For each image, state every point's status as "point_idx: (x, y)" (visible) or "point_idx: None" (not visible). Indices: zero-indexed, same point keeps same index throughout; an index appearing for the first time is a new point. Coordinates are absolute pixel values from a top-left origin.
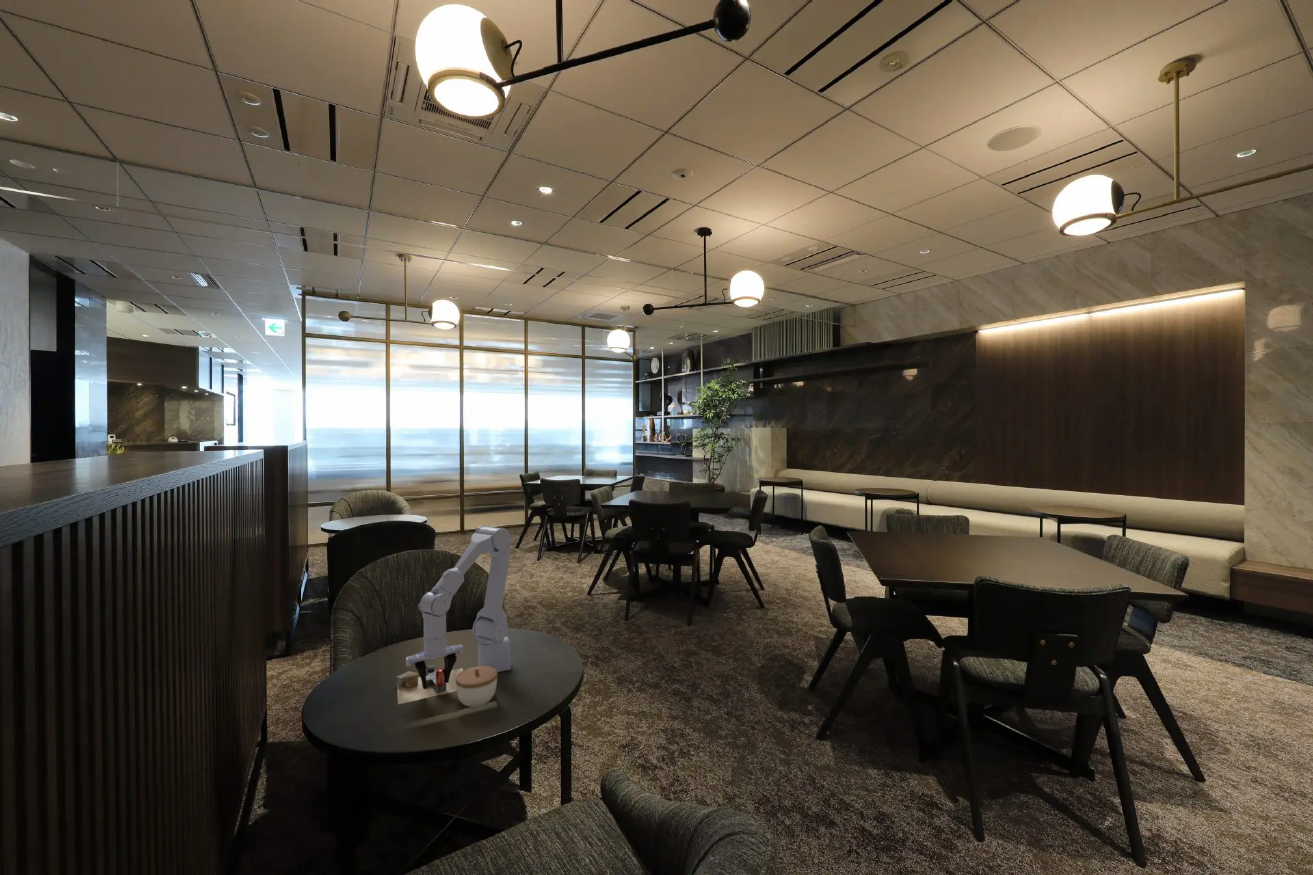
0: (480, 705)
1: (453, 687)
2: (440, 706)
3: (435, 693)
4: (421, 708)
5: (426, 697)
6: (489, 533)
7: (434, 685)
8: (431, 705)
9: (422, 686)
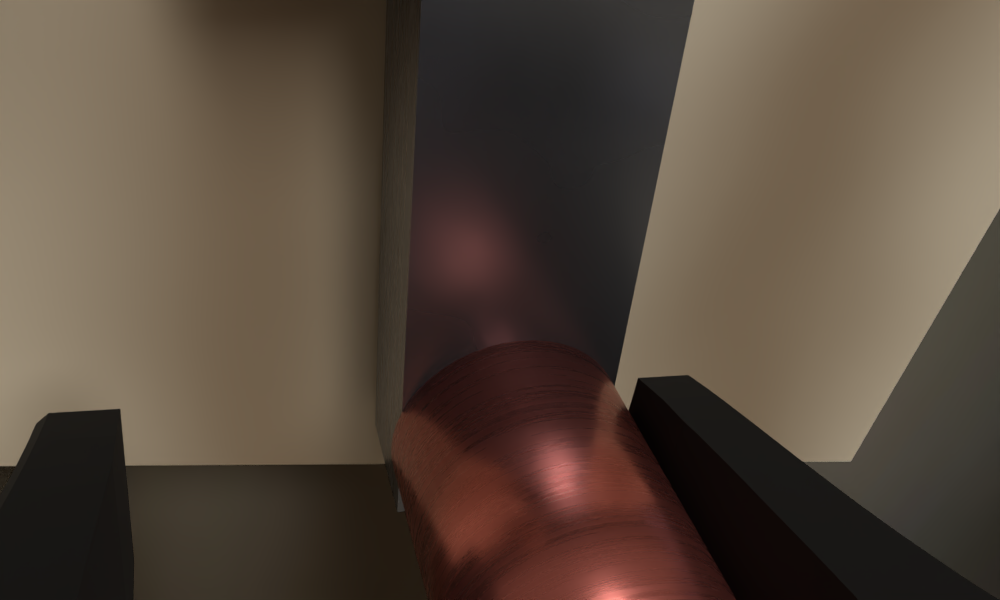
0: None
1: (700, 326)
2: (320, 596)
3: (338, 383)
4: None
5: (131, 449)
6: None
7: (393, 248)
8: (198, 527)
9: (37, 428)
